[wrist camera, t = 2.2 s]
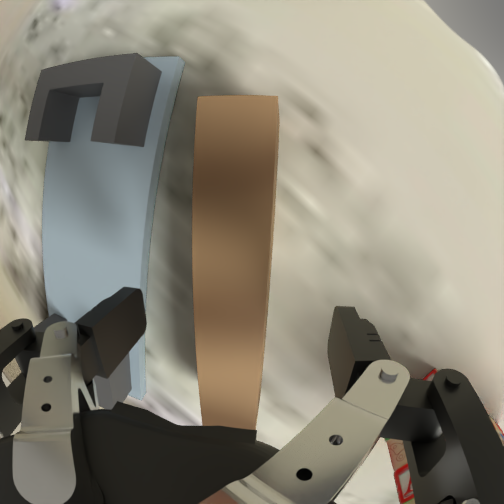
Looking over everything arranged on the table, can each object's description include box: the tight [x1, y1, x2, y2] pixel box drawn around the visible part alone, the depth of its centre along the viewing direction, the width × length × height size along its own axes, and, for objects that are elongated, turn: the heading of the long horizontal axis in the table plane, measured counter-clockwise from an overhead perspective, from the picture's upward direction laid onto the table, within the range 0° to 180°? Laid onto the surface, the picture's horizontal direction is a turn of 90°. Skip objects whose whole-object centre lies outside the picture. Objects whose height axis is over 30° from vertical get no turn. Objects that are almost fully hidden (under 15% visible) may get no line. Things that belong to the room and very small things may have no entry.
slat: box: [192, 95, 279, 430], centre depth 14 cm, size 18×3×5 cm, turn 177°
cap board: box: [25, 53, 185, 410], centre depth 15 cm, size 24×9×4 cm, turn 168°
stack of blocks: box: [385, 368, 504, 504], centre depth 12 cm, size 21×6×12 cm, turn 54°
